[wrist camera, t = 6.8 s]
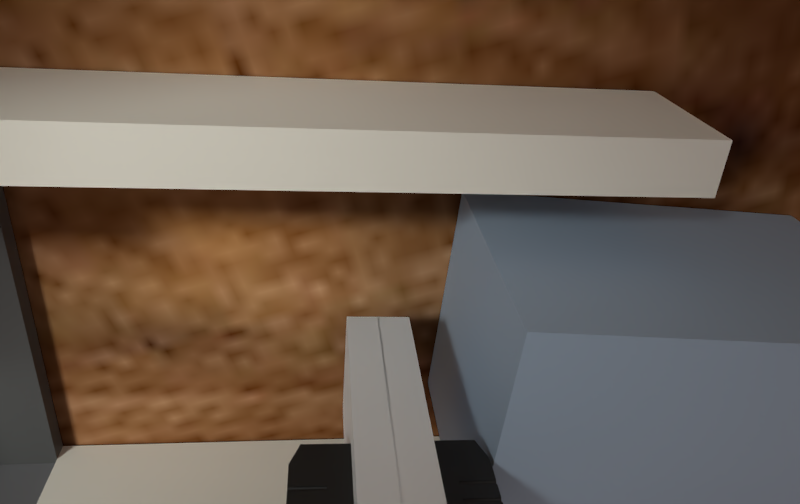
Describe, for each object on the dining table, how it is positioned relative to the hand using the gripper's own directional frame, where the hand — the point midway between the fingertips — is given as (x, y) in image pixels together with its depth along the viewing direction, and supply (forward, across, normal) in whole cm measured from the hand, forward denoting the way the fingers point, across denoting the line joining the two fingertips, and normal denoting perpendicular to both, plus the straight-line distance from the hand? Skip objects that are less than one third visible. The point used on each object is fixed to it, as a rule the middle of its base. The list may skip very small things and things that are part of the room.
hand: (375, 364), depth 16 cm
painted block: (+2, +6, 0) cm, 7 cm away
